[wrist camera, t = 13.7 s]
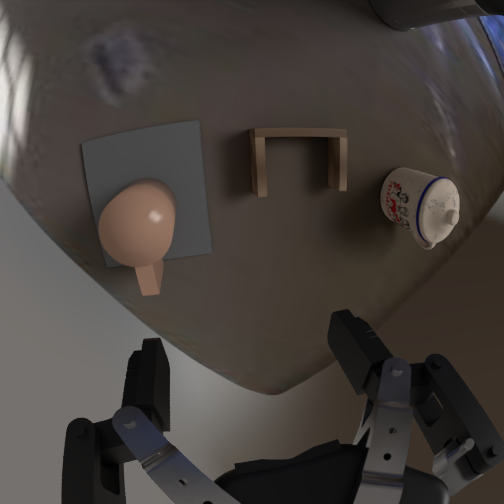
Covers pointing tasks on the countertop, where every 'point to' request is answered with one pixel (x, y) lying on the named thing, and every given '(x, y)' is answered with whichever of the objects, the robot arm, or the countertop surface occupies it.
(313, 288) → the countertop surface
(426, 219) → the teacup with lid
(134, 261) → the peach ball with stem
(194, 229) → the charcoal mat
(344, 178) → the walnut holder
